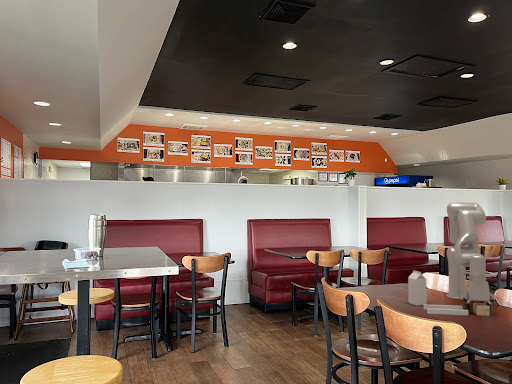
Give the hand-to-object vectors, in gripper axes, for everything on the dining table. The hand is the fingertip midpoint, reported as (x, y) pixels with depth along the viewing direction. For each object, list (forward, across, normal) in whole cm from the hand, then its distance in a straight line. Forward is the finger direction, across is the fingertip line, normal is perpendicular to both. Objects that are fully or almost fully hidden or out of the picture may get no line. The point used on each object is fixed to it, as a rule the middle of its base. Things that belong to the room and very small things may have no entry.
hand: (478, 310), depth 219 cm
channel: (+1, -16, 0) cm, 17 cm away
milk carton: (+2, -28, +16) cm, 32 cm away
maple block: (+2, +1, 0) cm, 2 cm away
